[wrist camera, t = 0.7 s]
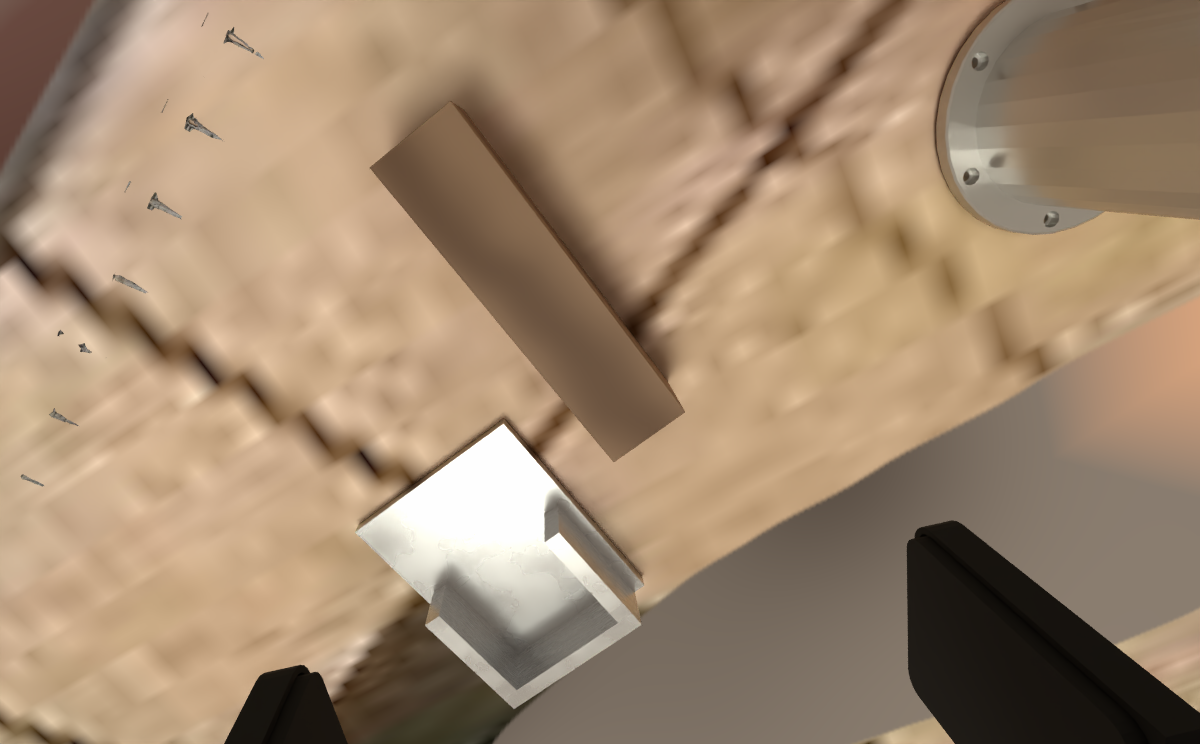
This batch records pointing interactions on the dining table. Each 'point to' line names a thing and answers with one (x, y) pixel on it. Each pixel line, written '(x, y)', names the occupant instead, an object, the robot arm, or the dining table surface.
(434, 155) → the walnut rail
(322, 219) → the dining table surface
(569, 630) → the cup bracket
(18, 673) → the dining table surface
